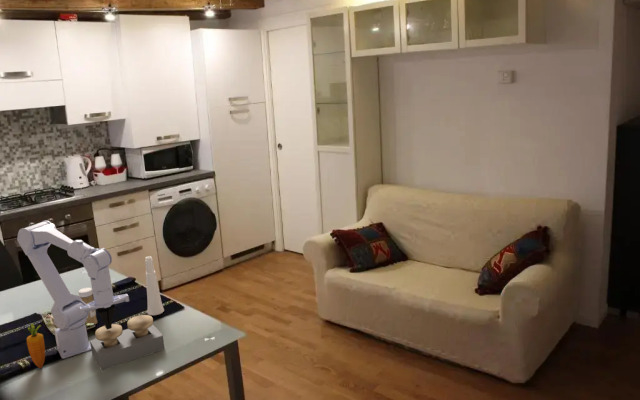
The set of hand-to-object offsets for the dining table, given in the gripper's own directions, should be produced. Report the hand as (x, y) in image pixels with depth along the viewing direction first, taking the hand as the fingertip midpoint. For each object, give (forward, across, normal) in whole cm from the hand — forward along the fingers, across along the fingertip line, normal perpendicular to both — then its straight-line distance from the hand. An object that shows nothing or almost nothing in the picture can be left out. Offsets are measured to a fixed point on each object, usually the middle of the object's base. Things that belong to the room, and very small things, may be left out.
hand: (108, 327), depth 176 cm
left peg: (+7, 0, 0) cm, 7 cm away
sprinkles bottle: (+10, 0, +29) cm, 31 cm away
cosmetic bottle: (+11, +22, +23) cm, 34 cm away
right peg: (+7, +10, 0) cm, 12 cm away
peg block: (+10, +5, 0) cm, 11 cm away
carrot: (+10, -20, +8) cm, 24 cm away
